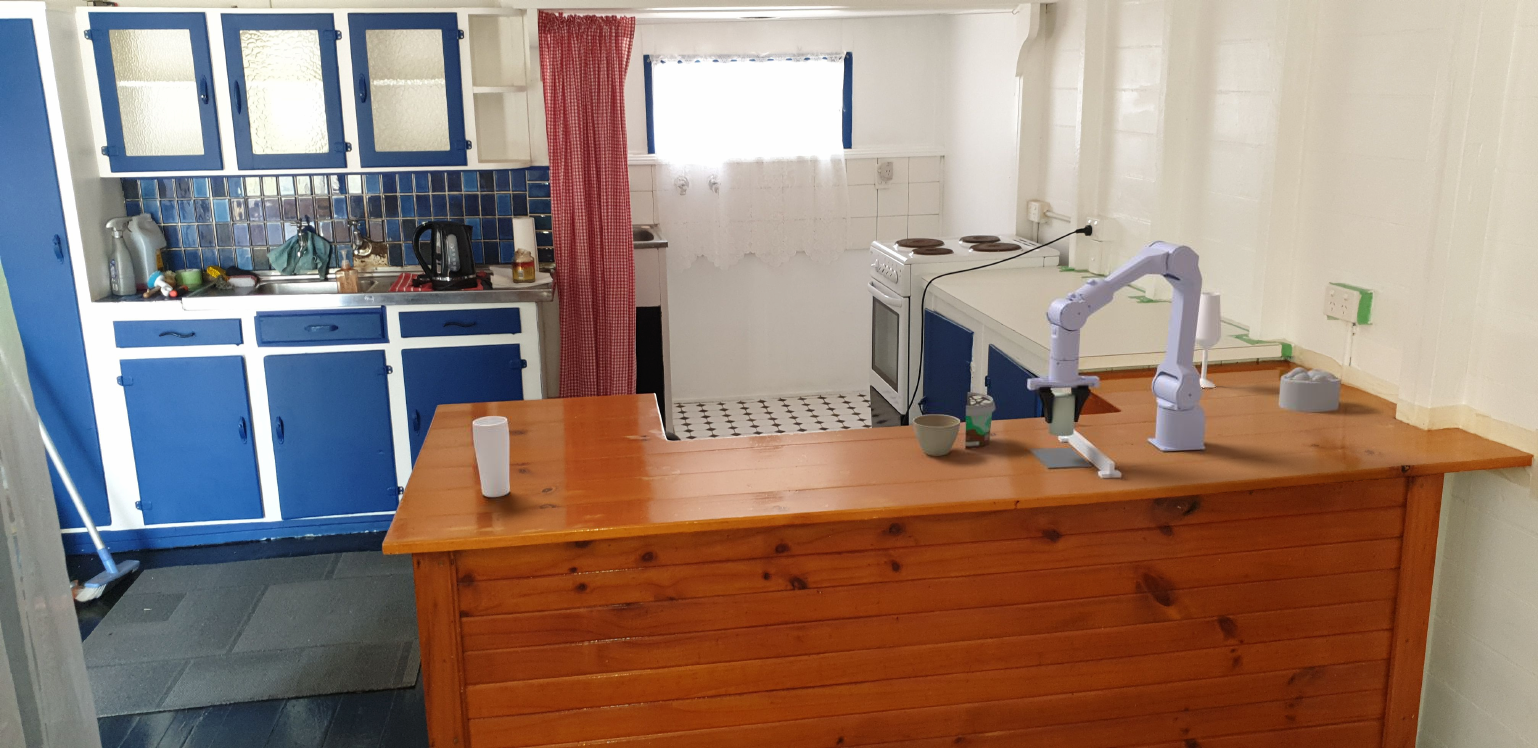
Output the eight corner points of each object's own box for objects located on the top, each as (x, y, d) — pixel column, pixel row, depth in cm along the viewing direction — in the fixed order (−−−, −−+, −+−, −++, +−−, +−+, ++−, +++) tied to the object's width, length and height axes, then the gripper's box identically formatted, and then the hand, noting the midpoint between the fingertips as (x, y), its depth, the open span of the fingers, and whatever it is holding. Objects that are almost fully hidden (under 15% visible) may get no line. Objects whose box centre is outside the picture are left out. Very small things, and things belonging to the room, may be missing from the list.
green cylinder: (1068, 428, 235) (1070, 391, 233) (1076, 435, 230) (1078, 398, 228) (1045, 429, 235) (1046, 392, 233) (1053, 436, 230) (1054, 399, 228)
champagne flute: (1191, 388, 286) (1198, 295, 280) (1186, 382, 292) (1193, 291, 286) (1219, 389, 285) (1226, 296, 279) (1213, 382, 291) (1221, 291, 285)
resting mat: (1071, 448, 240) (1071, 447, 240) (1091, 466, 228) (1091, 465, 228) (1030, 450, 239) (1030, 449, 239) (1048, 468, 228) (1048, 467, 228)
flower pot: (965, 448, 242) (965, 416, 240) (951, 462, 233) (952, 429, 232) (920, 443, 246) (921, 411, 245) (906, 456, 238) (906, 424, 236)
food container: (994, 452, 239) (995, 407, 237) (965, 451, 240) (965, 406, 238) (994, 435, 251) (995, 392, 248) (966, 434, 252) (967, 391, 250)
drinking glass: (481, 488, 224) (475, 416, 220) (515, 486, 224) (510, 415, 220) (475, 500, 217) (469, 426, 213) (511, 498, 218) (505, 424, 214)
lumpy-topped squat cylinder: (1344, 409, 264) (1348, 374, 262) (1295, 414, 262) (1298, 378, 260) (1315, 398, 274) (1318, 364, 272) (1267, 402, 272) (1270, 368, 270)
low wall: (1075, 438, 247) (1076, 425, 246) (1121, 477, 222) (1122, 462, 221) (1058, 439, 247) (1058, 426, 246) (1101, 478, 222) (1102, 463, 221)
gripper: (1091, 352, 233) (1088, 414, 236) (1023, 354, 232) (1021, 417, 235) (1104, 359, 226) (1101, 424, 230) (1034, 362, 225) (1031, 427, 228)
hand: (1061, 421), depth 232 cm, fingers closed on green cylinder, 5 cm apart
